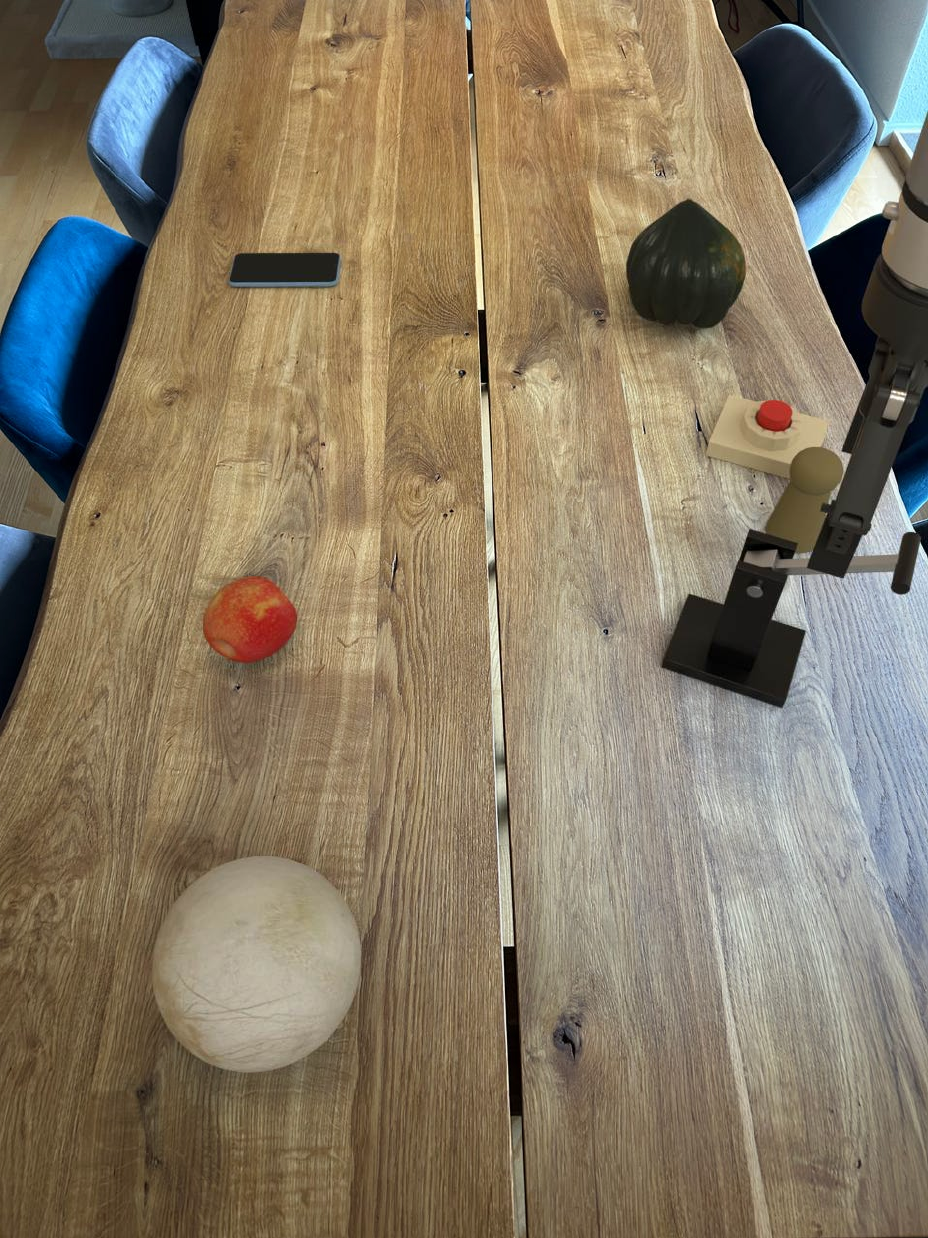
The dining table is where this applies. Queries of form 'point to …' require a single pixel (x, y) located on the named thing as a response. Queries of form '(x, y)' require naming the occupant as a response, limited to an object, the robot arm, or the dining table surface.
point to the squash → (685, 268)
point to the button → (774, 415)
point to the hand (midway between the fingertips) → (842, 508)
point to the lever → (852, 563)
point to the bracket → (740, 631)
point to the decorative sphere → (256, 964)
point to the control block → (762, 438)
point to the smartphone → (285, 269)
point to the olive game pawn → (806, 497)
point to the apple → (249, 620)
